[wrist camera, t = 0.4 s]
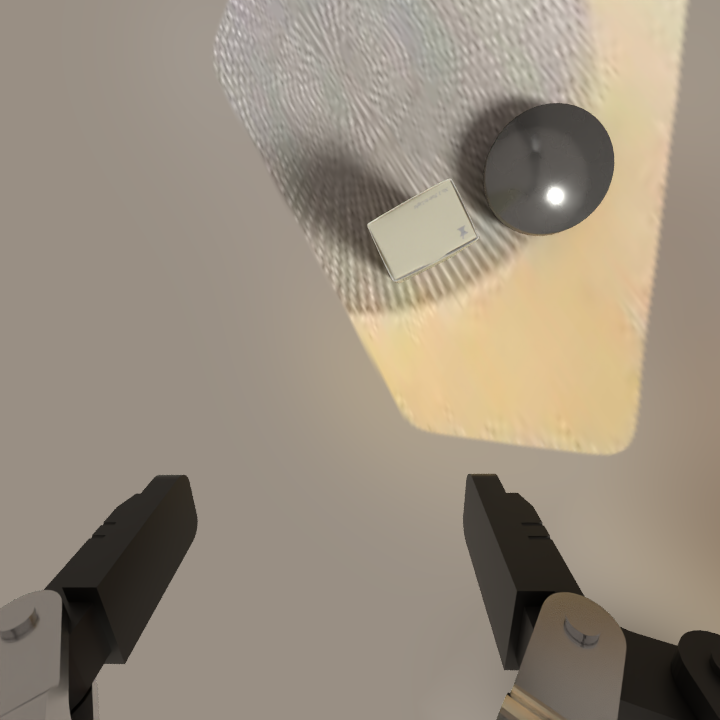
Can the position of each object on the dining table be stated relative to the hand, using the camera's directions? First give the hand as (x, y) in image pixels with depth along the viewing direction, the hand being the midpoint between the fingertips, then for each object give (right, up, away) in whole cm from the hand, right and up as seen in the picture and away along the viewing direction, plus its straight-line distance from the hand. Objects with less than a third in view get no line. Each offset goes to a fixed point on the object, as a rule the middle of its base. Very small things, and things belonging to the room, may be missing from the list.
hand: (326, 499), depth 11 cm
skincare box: (+6, +14, +25) cm, 30 cm away
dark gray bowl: (+17, +20, +23) cm, 35 cm away
